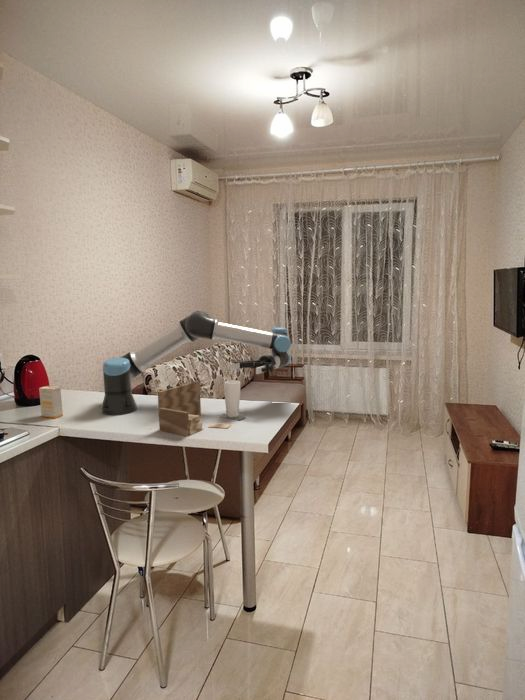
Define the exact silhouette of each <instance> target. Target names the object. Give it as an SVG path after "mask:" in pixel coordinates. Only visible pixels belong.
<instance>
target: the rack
mask: <svg viewBox="0 0 525 700" xmlns="http://www.w3.org/2000/svg"><path fill="white" fill-rule="evenodd" d="M200 403H201V385H200V380H196V381H192V382H188V383H186V384H183V385H179V386H175V387H172V388H168V389H164V390H161V391H157V406H158V422H159V423H158V424H159V425H158V426H159V431H160V432H164V433H168V434H173V435H178V436H184V437H188V436H190V435H189V418H188V414H190V415H199V416H202V415H201V413H202V406H201V405H200ZM203 430H204V428H202V430H201V431H203Z"/></svg>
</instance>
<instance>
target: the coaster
mask: <svg viewBox="0 0 525 700" xmlns="http://www.w3.org/2000/svg"><path fill="white" fill-rule="evenodd" d="M218 418H220V419H227V420H232V421H238V422H239V421H243V420H245V419H246V414H244V413H240V412H239V416H238V417H235V418H230V417H227V416H226V413H224V414H223V413H222V414H220V415H219V417H218ZM244 418H245V419H244Z"/></svg>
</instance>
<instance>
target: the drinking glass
mask: <svg viewBox="0 0 525 700" xmlns="http://www.w3.org/2000/svg"><path fill="white" fill-rule="evenodd" d="M223 385H224V387H223V388H224V389H223V390H224V391H223V392H224V401H225V414H226V416H227V417H230V418H235V417H238V416H239V413H240V400H241V381H240V380H238V379H237V380H236V379H235V380H234V379H231V380H226V381H224V383H223Z"/></svg>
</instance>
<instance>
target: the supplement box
mask: <svg viewBox="0 0 525 700" xmlns="http://www.w3.org/2000/svg"><path fill="white" fill-rule="evenodd" d="M38 391H39V402H40V411H41V417H42V418H50V419H57V418H60V417H63V416H64V414H63V411H64V410H63V403H62V402H63V401H62V389H61V387H60V386H53V385H46V386H42V387H39V388H38Z"/></svg>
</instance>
